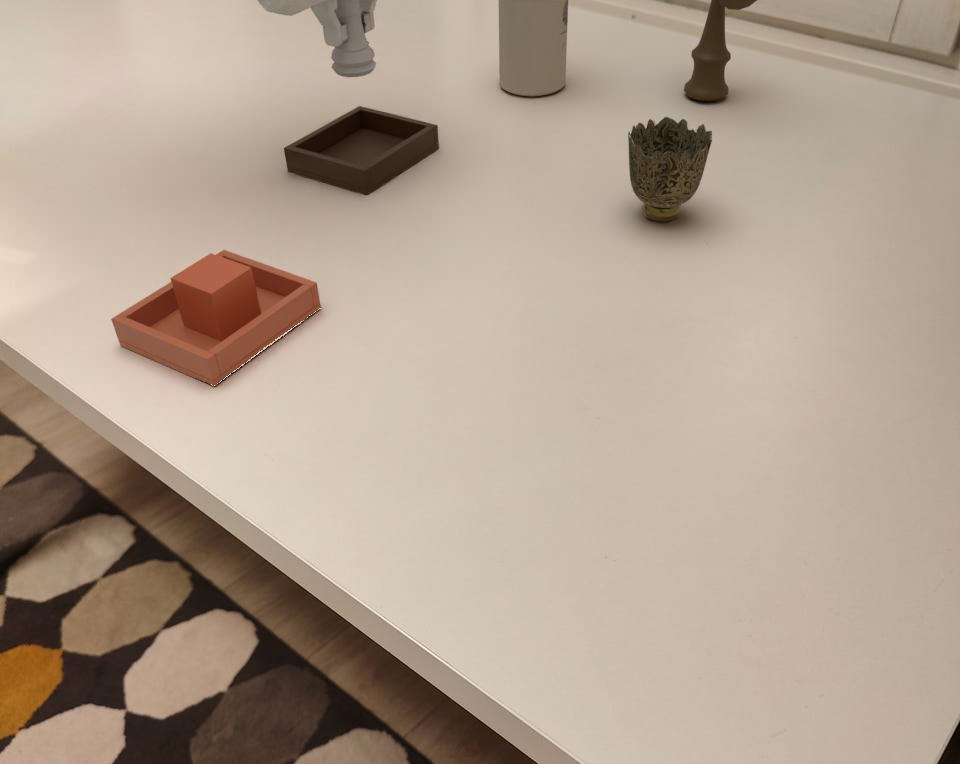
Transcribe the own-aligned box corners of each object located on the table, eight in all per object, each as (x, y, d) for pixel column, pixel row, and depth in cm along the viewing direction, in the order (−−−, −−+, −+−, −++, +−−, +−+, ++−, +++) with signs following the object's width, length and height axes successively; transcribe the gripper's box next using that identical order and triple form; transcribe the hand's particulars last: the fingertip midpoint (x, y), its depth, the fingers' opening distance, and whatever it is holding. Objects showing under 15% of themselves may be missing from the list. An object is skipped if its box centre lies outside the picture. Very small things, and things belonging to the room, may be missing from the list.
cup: (605, 216, 90) (611, 134, 85) (653, 190, 94) (662, 109, 88) (668, 242, 86) (679, 158, 81) (716, 214, 90) (729, 131, 84)
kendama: (702, 115, 107) (729, -87, 93) (663, 85, 114) (684, -107, 100) (749, 107, 108) (783, -93, 94) (708, 78, 115) (734, -113, 101)
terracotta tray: (214, 387, 72) (207, 359, 70) (120, 345, 76) (110, 318, 75) (321, 309, 80) (317, 282, 78) (229, 275, 84) (223, 249, 82)
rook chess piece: (349, 59, 96) (340, -27, 91) (385, 66, 95) (377, -21, 89) (322, 73, 94) (311, -14, 88) (359, 81, 92) (349, -8, 86)
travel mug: (490, 94, 113) (487, -76, 100) (510, 70, 118) (510, -94, 106) (555, 101, 111) (560, -72, 98) (572, 76, 116) (579, -91, 104)
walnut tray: (367, 195, 95) (364, 170, 93) (287, 171, 99) (283, 147, 97) (439, 148, 102) (437, 124, 100) (362, 128, 106) (359, 105, 105)
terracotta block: (223, 342, 75) (211, 293, 72) (183, 326, 77) (169, 277, 74) (262, 315, 78) (251, 267, 75) (222, 300, 80) (210, 252, 77)
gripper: (375, -153, 90) (388, 3, 100) (223, -109, 78) (255, 64, 87) (429, -148, 88) (437, 12, 97) (281, -101, 75) (307, 77, 85)
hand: (350, 37), depth 92 cm, fingers closed on rook chess piece, 3 cm apart
